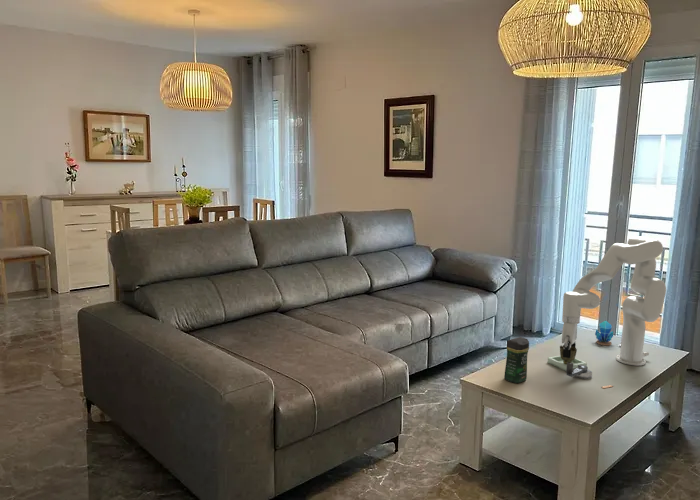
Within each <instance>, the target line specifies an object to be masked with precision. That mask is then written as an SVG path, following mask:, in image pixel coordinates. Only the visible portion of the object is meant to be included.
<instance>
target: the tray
mask: <svg viewBox="0 0 700 500" xmlns="http://www.w3.org/2000/svg"><path fill="white" fill-rule="evenodd" d="M571 362H572V363H573V369H574V368H578V365H585V366H587V367H588V363H587V362H585V361H584V360H582V359H579V358H576V357H575V359H574V360H573V361H571ZM547 363H548V364H549V365H552V366H554V367H556V368H558V369H560V370H563V371H565V372H566V368H567V365H566V364H564V363H563V360H562V359H561V356H560V355H555V356H551V357H547Z"/></svg>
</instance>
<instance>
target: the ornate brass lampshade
mask: <svg viewBox="0 0 700 500" xmlns="http://www.w3.org/2000/svg"><path fill="white" fill-rule="evenodd" d="M568 346H569V345H568ZM563 348H564V344H563V345H559V356H561V359H562V360H563V363H564V364H566V365H567V362H571V361H573V360H574V359H575V358H576V357H577V356H576V355H577V350H578V348H577V347H576V346H575V347H574V346H573V347H572V346H571V348H570V350H571V357H570V358H566V357H563ZM571 363H572V362H571Z"/></svg>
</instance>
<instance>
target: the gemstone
mask: <svg viewBox="0 0 700 500" xmlns="http://www.w3.org/2000/svg"><path fill="white" fill-rule="evenodd" d="M598 324H599V326H598V327H599V330H598V329H596V328H595V333H594V335H595V338H596V344H597V345H599V346H608V347H610V346H612V338H613V337H614V331H613V330H612V327H613V326H612V324H611V323H609V322H608V321H607V320H604V321H602V322H599V323H598Z"/></svg>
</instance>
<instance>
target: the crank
mask: <svg viewBox="0 0 700 500" xmlns="http://www.w3.org/2000/svg"><path fill="white" fill-rule="evenodd" d="M587 370H589V369H588V365H587V366H585V365H578V368H577V369H574V370H573V363H571V362H567V368H566V371H565V372H566V373H565V374H566V376H567V377H571V378H572V377H575V375H577V374H580V373H582V372H587Z"/></svg>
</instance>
